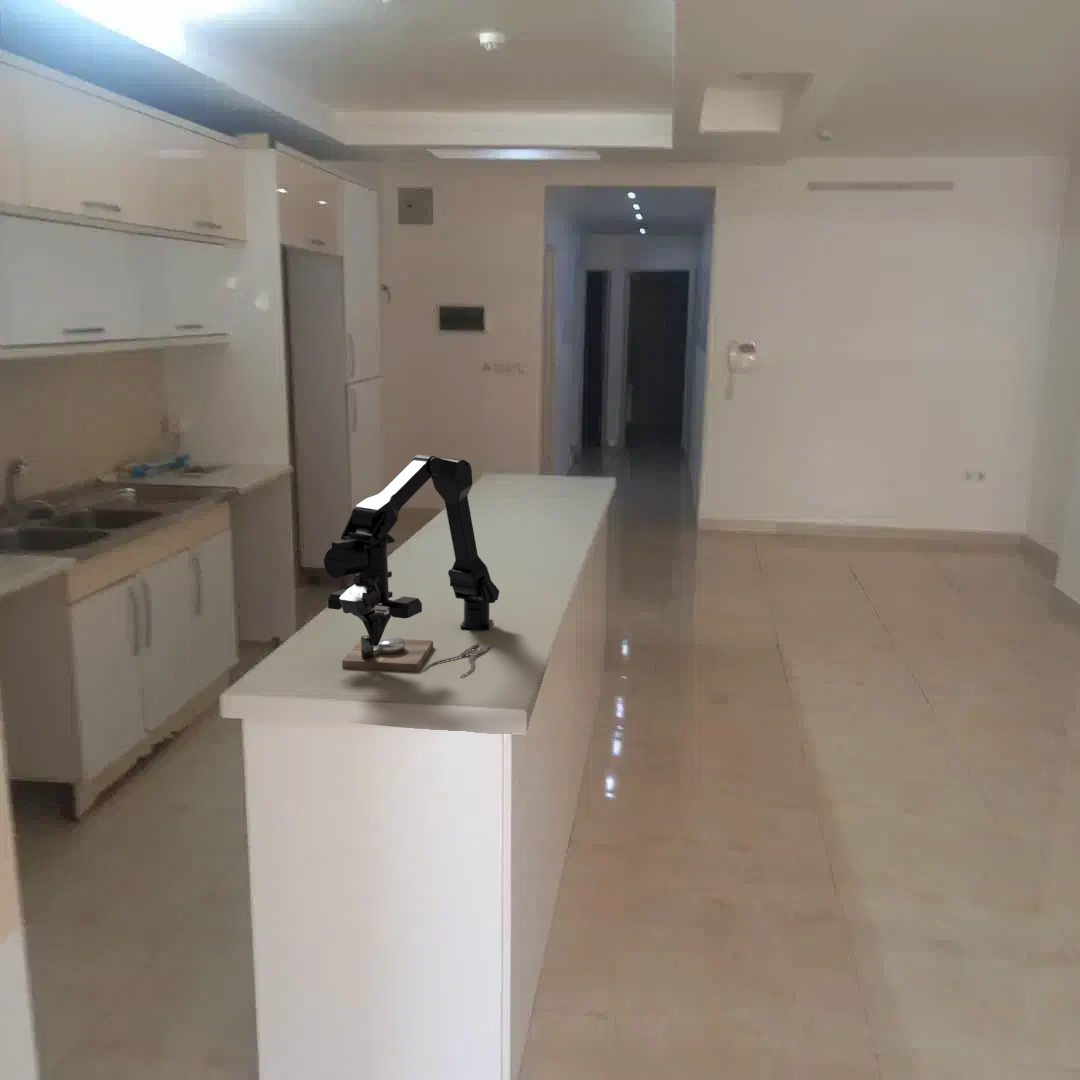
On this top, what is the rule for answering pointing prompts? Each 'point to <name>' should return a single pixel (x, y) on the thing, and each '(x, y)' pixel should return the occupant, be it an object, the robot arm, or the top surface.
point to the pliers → (469, 652)
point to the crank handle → (381, 646)
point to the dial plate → (391, 657)
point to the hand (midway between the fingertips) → (375, 645)
